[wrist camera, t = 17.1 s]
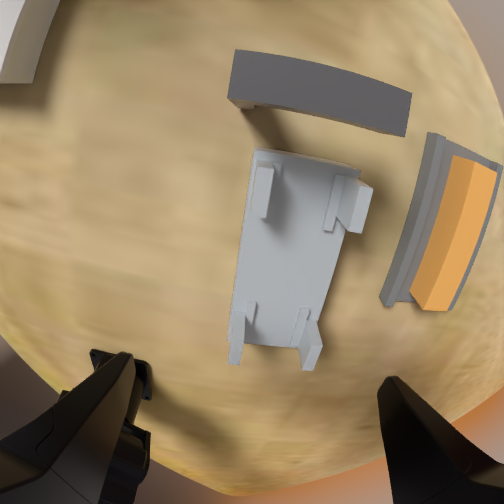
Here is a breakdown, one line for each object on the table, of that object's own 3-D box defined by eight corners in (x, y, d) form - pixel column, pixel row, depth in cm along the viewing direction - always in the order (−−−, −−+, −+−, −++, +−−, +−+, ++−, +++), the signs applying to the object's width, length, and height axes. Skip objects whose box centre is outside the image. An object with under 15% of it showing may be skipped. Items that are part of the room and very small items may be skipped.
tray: (445, 302, 24) (451, 310, 22) (379, 296, 23) (384, 306, 22) (493, 162, 18) (503, 166, 16) (427, 132, 17) (437, 133, 16)
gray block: (347, 128, 17) (404, 137, 10) (237, 107, 17) (227, 98, 10) (352, 100, 17) (412, 93, 9) (242, 78, 16) (235, 49, 9)
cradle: (303, 328, 25) (313, 375, 20) (229, 320, 24) (224, 368, 19) (348, 164, 19) (379, 180, 14) (254, 146, 18) (254, 155, 13)
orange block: (432, 293, 23) (446, 311, 20) (409, 291, 23) (423, 310, 20) (475, 165, 18) (497, 173, 15) (453, 154, 17) (475, 161, 15)
